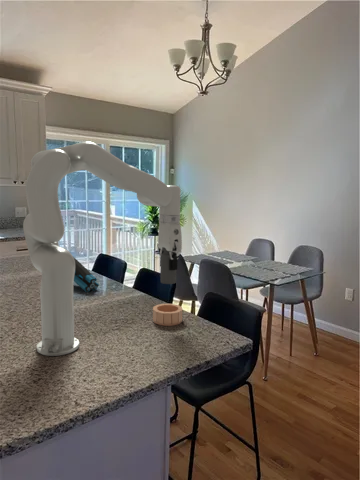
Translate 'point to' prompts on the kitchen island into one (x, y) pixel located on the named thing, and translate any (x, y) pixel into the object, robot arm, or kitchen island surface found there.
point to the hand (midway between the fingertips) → (168, 267)
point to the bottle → (167, 268)
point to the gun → (84, 277)
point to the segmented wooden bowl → (167, 314)
